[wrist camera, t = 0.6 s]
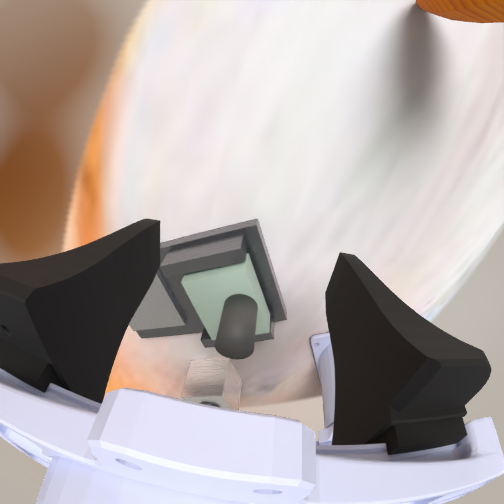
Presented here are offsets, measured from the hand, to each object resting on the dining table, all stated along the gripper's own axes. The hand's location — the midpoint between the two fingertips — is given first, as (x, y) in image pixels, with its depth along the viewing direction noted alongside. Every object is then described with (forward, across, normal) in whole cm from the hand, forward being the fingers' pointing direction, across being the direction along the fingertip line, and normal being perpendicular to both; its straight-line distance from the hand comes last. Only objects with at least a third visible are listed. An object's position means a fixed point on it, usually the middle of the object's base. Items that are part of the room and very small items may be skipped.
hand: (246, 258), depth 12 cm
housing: (+10, +1, +22) cm, 24 cm away
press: (+10, +6, +11) cm, 15 cm away
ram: (+8, +1, +8) cm, 12 cm away
